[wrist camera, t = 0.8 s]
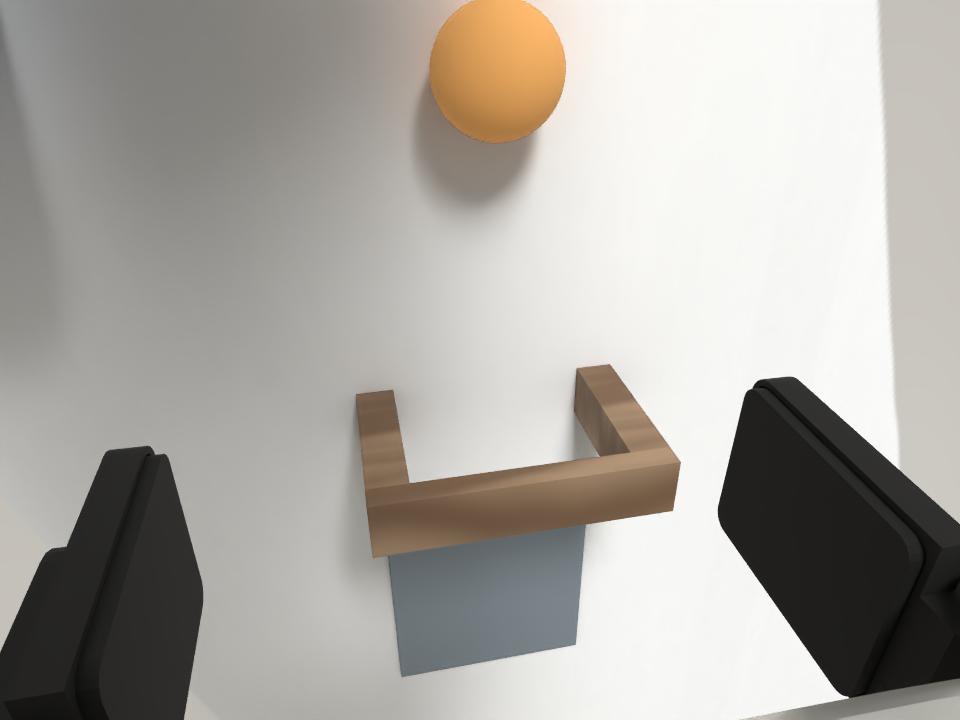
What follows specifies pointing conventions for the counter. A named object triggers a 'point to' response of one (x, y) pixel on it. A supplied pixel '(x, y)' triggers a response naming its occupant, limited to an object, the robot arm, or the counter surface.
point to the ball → (497, 69)
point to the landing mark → (487, 599)
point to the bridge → (518, 477)
